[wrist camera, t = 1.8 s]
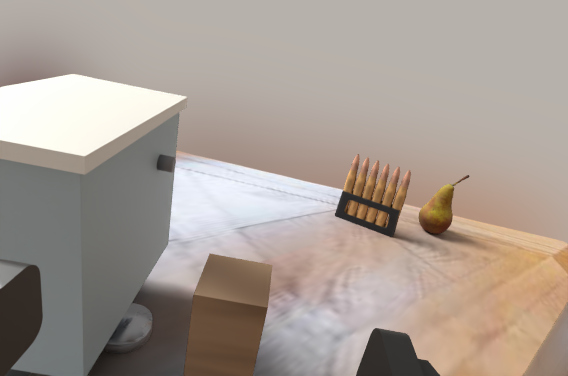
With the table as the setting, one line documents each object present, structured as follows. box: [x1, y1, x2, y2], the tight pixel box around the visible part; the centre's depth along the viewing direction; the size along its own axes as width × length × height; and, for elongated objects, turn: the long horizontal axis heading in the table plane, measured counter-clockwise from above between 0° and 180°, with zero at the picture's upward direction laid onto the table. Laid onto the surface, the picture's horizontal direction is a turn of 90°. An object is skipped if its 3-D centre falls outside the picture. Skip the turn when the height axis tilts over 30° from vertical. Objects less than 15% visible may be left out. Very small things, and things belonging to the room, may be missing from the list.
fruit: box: [419, 175, 469, 234], centre depth 68 cm, size 6×6×12 cm
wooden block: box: [30, 254, 272, 376], centre depth 24 cm, size 4×16×15 cm, turn 88°
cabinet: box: [0, 74, 187, 376], centre depth 31 cm, size 19×12×21 cm, turn 178°
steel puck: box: [103, 303, 153, 354], centre depth 35 cm, size 5×5×2 cm
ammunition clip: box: [335, 154, 411, 237], centre depth 65 cm, size 11×2×12 cm, turn 64°
